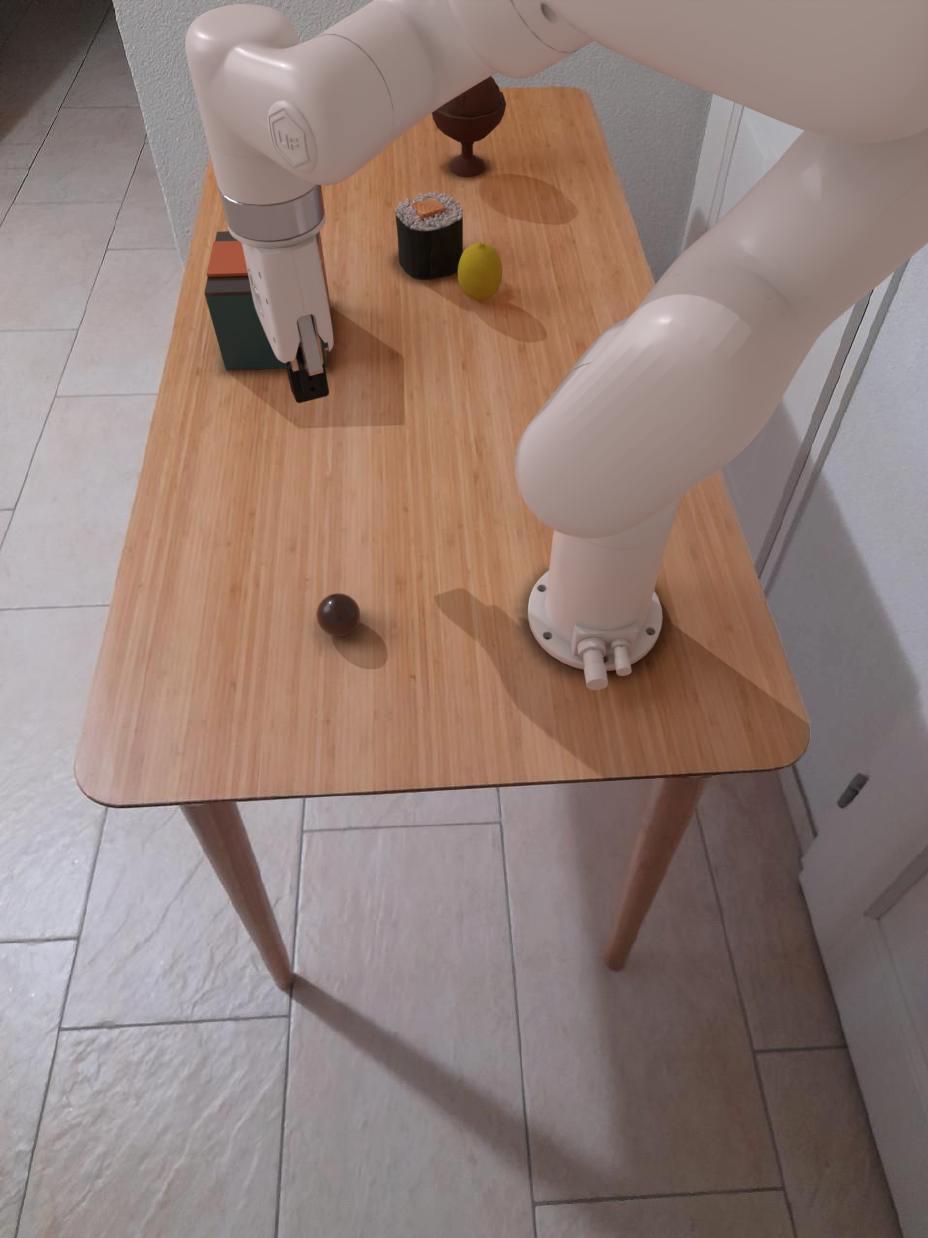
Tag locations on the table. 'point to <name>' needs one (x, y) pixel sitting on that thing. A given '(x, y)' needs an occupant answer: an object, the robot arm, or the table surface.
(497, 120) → the ice cream bowl
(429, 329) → the table surface
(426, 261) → the sushi
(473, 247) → the lemon
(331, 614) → the ball
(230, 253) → the slider
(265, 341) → the sliding lid box
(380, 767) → the table surface
